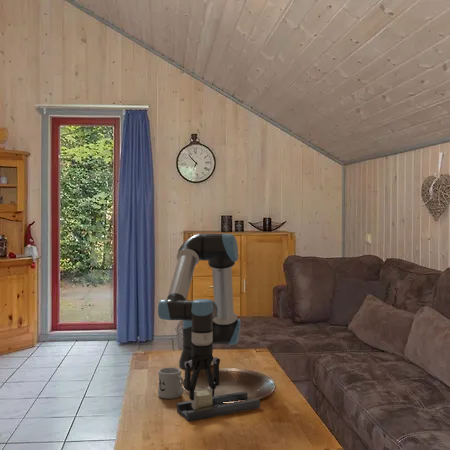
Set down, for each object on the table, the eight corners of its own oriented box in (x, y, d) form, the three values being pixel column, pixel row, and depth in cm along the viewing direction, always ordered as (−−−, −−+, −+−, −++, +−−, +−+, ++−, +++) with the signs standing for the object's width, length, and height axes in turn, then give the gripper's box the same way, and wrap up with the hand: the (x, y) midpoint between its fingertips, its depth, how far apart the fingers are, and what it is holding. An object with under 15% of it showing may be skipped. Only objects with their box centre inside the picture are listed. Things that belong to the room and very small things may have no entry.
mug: (153, 395, 221) (153, 370, 221) (170, 390, 228) (170, 365, 227) (174, 403, 213) (174, 377, 212) (191, 397, 219) (191, 372, 219)
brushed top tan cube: (191, 407, 204) (191, 391, 204) (205, 404, 207) (205, 389, 207) (198, 411, 200) (198, 396, 199) (212, 409, 202) (212, 394, 202)
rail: (176, 411, 205) (176, 403, 205) (245, 398, 218) (245, 391, 218) (189, 421, 195) (189, 413, 195) (259, 408, 208) (259, 399, 208)
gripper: (182, 348, 195) (182, 414, 196) (229, 342, 204) (229, 406, 204) (174, 343, 202) (174, 407, 202) (220, 338, 210) (220, 399, 211)
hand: (201, 406), depth 203 cm, fingers closed on brushed top tan cube, 5 cm apart
